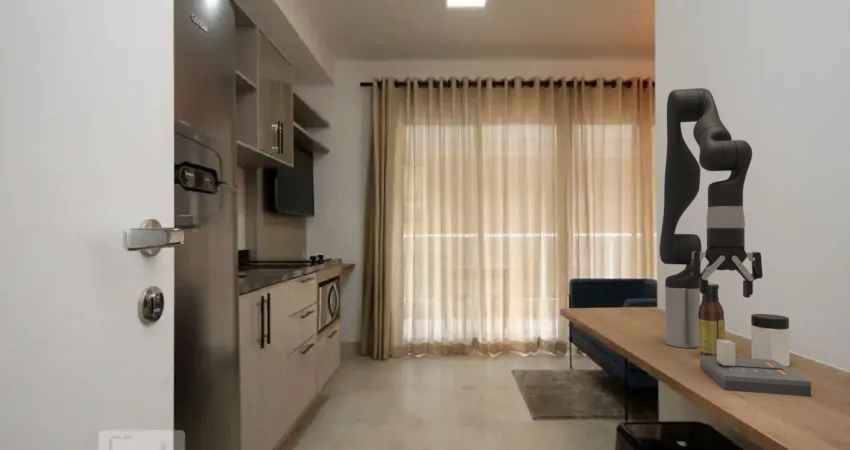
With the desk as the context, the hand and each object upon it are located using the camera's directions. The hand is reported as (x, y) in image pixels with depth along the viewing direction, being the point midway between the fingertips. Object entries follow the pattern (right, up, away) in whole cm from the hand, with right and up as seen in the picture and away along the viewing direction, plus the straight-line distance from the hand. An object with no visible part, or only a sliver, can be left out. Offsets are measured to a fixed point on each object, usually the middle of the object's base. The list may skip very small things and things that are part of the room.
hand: (725, 296), depth 115 cm
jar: (+20, -19, +14) cm, 31 cm away
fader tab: (0, -17, 0) cm, 17 cm away
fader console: (+5, -19, -1) cm, 20 cm away
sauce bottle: (+8, -19, +19) cm, 29 cm away
